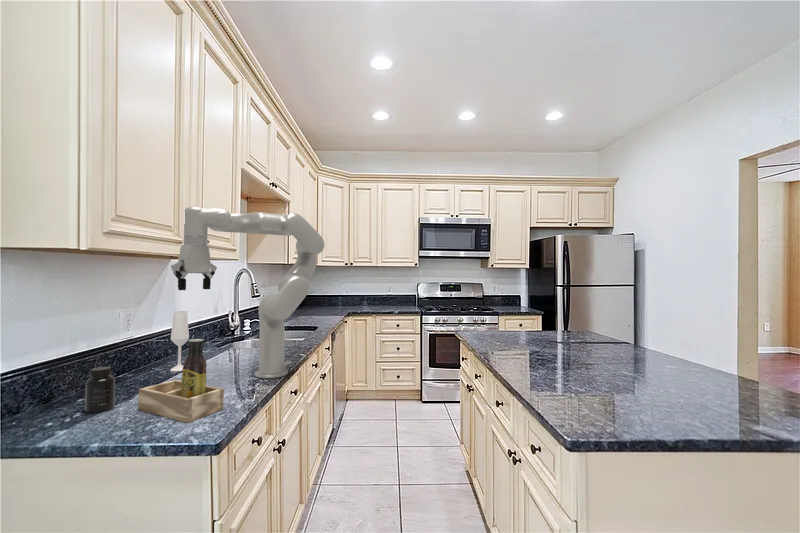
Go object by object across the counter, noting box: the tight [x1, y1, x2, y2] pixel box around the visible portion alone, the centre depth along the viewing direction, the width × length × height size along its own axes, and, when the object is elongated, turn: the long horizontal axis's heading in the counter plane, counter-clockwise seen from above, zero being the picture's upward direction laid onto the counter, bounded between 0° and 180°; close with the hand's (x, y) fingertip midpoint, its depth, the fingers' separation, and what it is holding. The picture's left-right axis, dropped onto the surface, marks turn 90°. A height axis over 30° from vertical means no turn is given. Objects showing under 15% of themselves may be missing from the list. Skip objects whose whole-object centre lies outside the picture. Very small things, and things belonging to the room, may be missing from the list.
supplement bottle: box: [84, 366, 116, 414], centre depth 112 cm, size 7×7×12 cm
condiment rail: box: [137, 379, 225, 424], centre depth 112 cm, size 11×22×6 cm, turn 65°
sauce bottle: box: [181, 338, 207, 398], centre depth 110 cm, size 6×6×20 cm
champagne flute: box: [169, 310, 190, 372], centre depth 159 cm, size 7×7×24 cm
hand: (194, 289), depth 136 cm, fingers open, 9 cm apart
